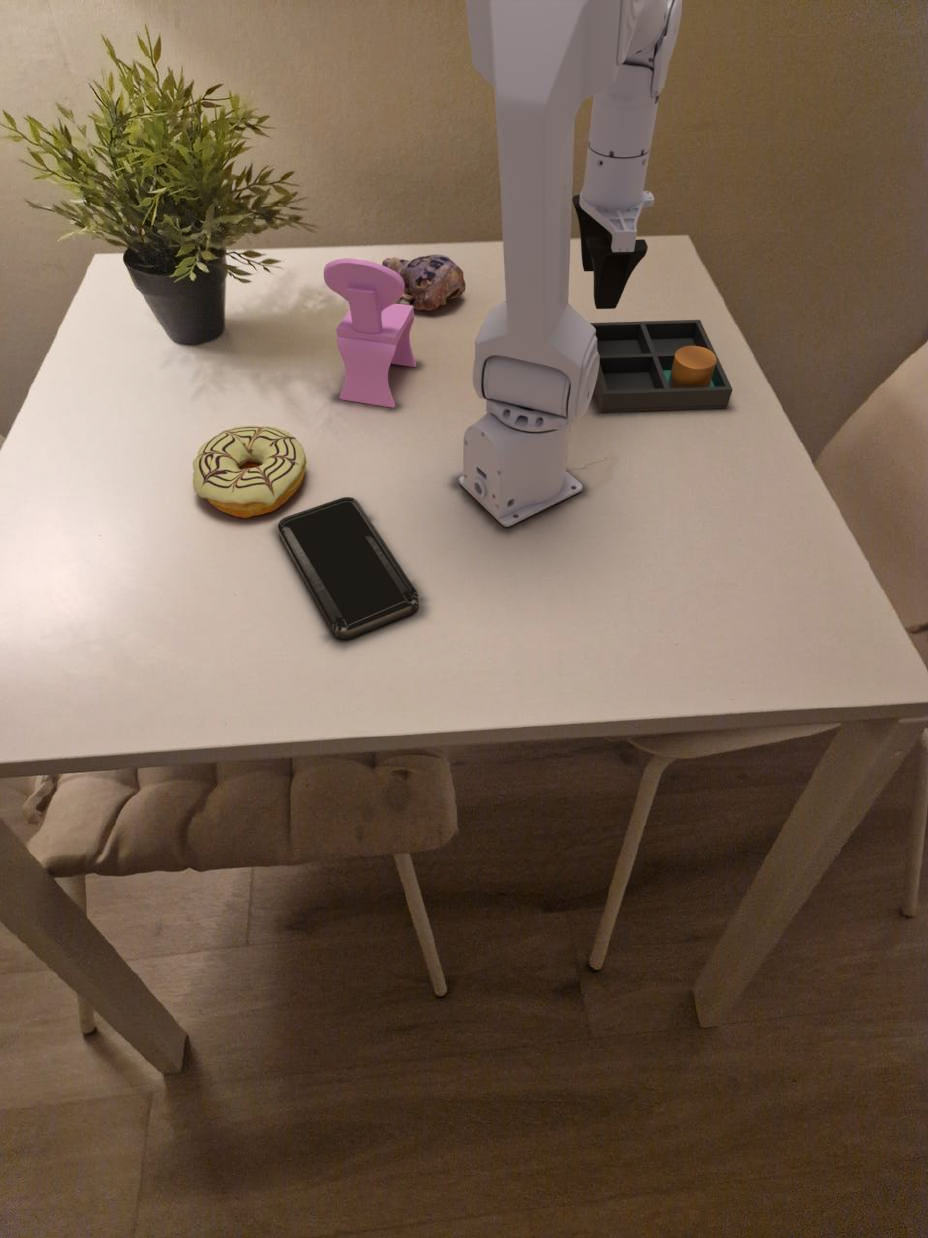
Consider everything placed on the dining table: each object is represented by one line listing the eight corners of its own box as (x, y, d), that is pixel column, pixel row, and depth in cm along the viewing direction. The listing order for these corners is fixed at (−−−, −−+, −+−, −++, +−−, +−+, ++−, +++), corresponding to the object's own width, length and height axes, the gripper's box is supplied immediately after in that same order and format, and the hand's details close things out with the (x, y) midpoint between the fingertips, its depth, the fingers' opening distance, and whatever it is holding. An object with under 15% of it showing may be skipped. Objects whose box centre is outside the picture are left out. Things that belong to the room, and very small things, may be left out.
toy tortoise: (367, 281, 101) (370, 232, 97) (415, 271, 105) (419, 223, 101) (425, 325, 96) (431, 275, 91) (473, 312, 100) (481, 263, 95)
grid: (727, 408, 86) (732, 389, 84) (600, 412, 85) (603, 393, 83) (695, 337, 94) (700, 319, 92) (580, 341, 94) (582, 322, 92)
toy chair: (426, 364, 91) (421, 231, 79) (403, 409, 85) (394, 273, 74) (357, 353, 92) (342, 221, 80) (330, 397, 86) (310, 262, 75)
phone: (336, 635, 64) (274, 520, 72) (338, 643, 65) (276, 529, 73) (424, 600, 66) (354, 493, 75) (424, 609, 67) (355, 502, 76)
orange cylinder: (688, 401, 85) (695, 373, 83) (659, 381, 88) (666, 353, 85) (717, 388, 87) (725, 359, 84) (688, 369, 89) (695, 340, 86)
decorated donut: (183, 517, 75) (171, 486, 72) (219, 445, 81) (210, 414, 78) (291, 526, 74) (284, 496, 71) (319, 453, 80) (313, 422, 77)
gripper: (681, 178, 68) (651, 323, 79) (645, 115, 77) (623, 253, 88) (599, 180, 68) (580, 325, 78) (574, 116, 77) (560, 255, 88)
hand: (599, 287), depth 83 cm, fingers open, 7 cm apart
